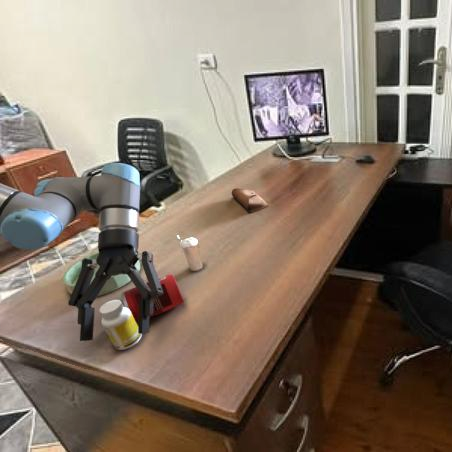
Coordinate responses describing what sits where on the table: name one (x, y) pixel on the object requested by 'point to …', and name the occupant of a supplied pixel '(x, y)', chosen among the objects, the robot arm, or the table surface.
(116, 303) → the supplement bottle
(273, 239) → the table surface
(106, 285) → the pan
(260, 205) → the sunglasses case
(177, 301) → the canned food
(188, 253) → the milkshake
